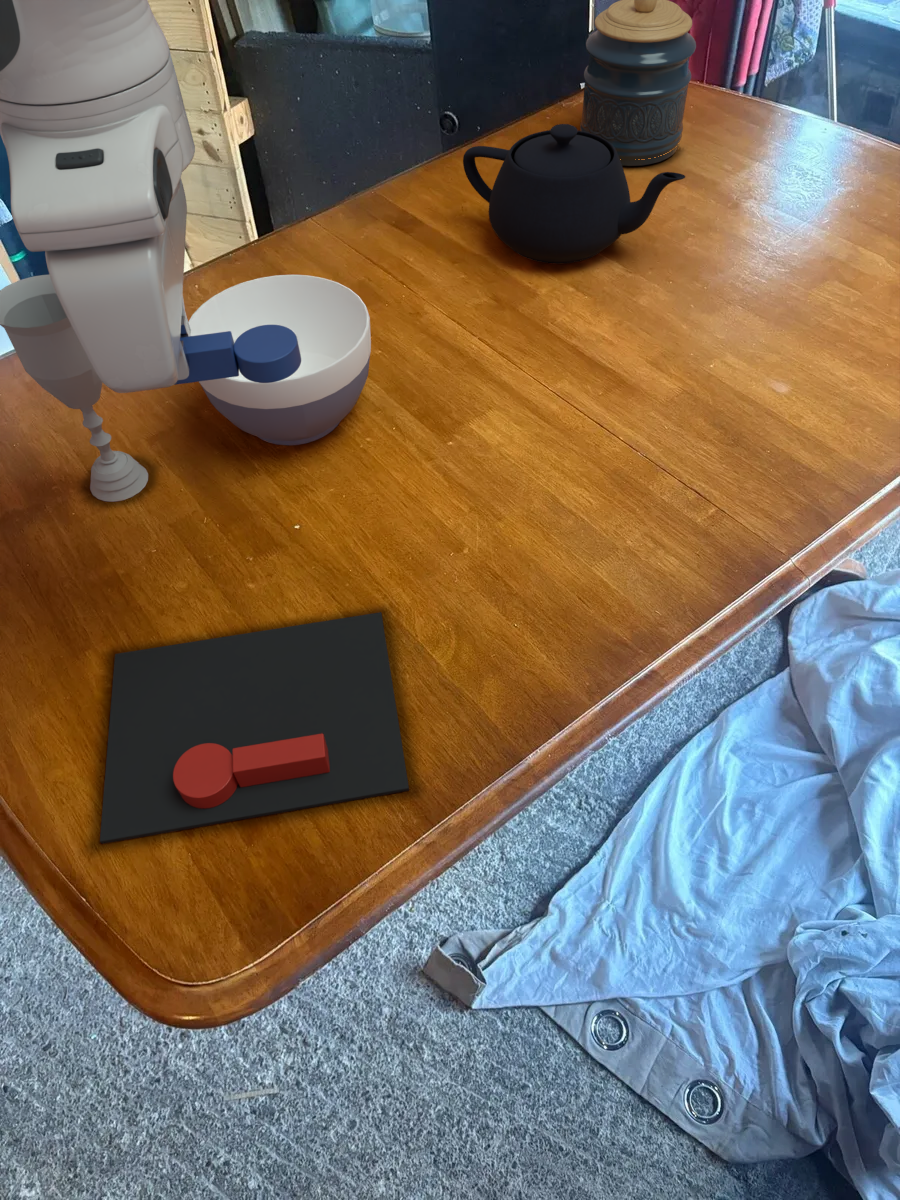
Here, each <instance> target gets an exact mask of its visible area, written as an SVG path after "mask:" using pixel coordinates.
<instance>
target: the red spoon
mask: <svg viewBox="0 0 900 1200" xmlns="http://www.w3.org/2000/svg"><path fill="white" fill-rule="evenodd" d="M232 754H233V756H232ZM232 754H231V753H230V752H229V750H228V749H226V748H225V747H223V746H221V745H218V744H214V743H205V744H200V745H197V746H194V747H192V748H191V749H189V750H188V751H186V752H185V753H184V754H183V755H182V756H181V757H180V758H179V760H178V761H177V763H176V765H175V767H174V771H173V781H174V784H175V786H176V788H177V790H178V791H179V793H180V795H181V796H182V798H183V799H184V801H185V802H186V803H188V804H189V805H191V806H193V807H196V808H212V807H215V806H218V805H220V804H222V803H223V802H225V801H226V800H228V799H229V798H230V797H231V796H232V794H233V793H234V792H235V790H236V788H237V786H238V784H239V786H240V787H246V786H252V785H258V784H264V783H270V782H275V781H281V780H287V779H293V778H299V777H305V776H311V775H317V774H322V773H328V772H330V765H329V755H328V748H327V745H326V741H325V738H324V734H316V735H310V736H304V737H298V738H292V739H286V740H280V741H274V742H268V743H262V744H256V745H250V746H244V747H238V748H233V750H232Z"/></svg>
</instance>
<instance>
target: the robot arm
mask: <svg viewBox="0 0 900 1200" xmlns="http://www.w3.org/2000/svg"><path fill="white" fill-rule="evenodd" d="M170 50H171V49H170V46H169V43H168V41H167V38H166V36H165V33H164V32H163V30H162V28H161V26H160V25H159V23H158V20H157V19H156V16H155V15H154V13H153V11H152V8H151V6H150V3H149V0H0V137H1V140H2V143H3V145H4V148H5V151H6V155H7V159H8V166H9V168H8V169H9V170H8V173H9V188H10V189H9V190H10V192H9V193H10V210H11V216H12V217H11V218H12V220H13V223H14V226H15V228H16V230H17V233H18V235H19V237H20V240H21V241H22V243H23V245H24V247H25V248H26V250H28V251H29V252H32V253H35V252H36V253H37V252H45V253H44V256H45V261H46V266H47V271H48V275H49V274H50V278H51V281H52V283H53V286H54V289H55V291H56V294H57V296H58V298H59V300H60V303H61V305H62V307H63V309H64V311H65V313H66V315H67V317H68V319H69V322H70V324H71V326H72V328H73V330H74V332H75V334H76V336H77V338H78V340H79V342H80V344H81V346H82V348H83V350H84V351H85V353H86V355H87V357H88V359H89V361H90V363H91V365H92V367H93V369H94V370H95V372H96V374H97V375H98V377H99V378H100V380H101V381H102V384H103V385H104V386H106V387H107V388H108V389H109V390H111V391H112V392H115V393H118V394H129V393H137V392H144V391H151V390H152V391H153V390H160V389H165V388H169V387H170V388H171V387H173V386H175V385H174V384H175V383H176V382H177V380H184V379H186V378H187V377H188V376H189V357H188V354H187V351H186V347H185V344H184V341H183V340H182V341H180V338H181V337H189V336H191V329H190V326H189V320H188V316H187V312H186V308H185V307H186V306H185V301H184V294H183V293H184V292H183V291H184V275H185V255H186V253H185V252H186V239H187V238H186V236H187V218H188V216H187V215H188V205H187V204H188V203H187V197H186V192H185V187H184V184H183V181H182V175H183V172H184V171H186V170H187V168H188V167H189V166H190V164H191V163H192V161H193V159H194V157H195V153H196V145H195V141H194V137H193V134H192V130H191V126H190V123H189V119H188V115H187V111H186V108H185V104H184V99H183V96H182V91H181V87H180V84H179V80H178V76H177V72H176V69H175V65H174V62H173V58H172V55H171V51H170Z"/></svg>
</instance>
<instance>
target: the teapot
mask: <svg viewBox="0 0 900 1200" xmlns="http://www.w3.org/2000/svg"><path fill="white" fill-rule="evenodd" d="M476 158H484V159H485V158H486V159H492V160H498V161H503V162H502V164H501V166H500V168H499V171H498V173H497V174H496V175H497V176H496V178H495V181H494V183H493V186H492V188H491V187H490V186H489V185H488V184H487V183H486V182H485V181H484V179H483V178H482V176H481V174H480V172H479V169H478V167H477V165H476ZM462 166H463V170H464V173H465V175H466V178H467V180H468V182H469V183H470V185H471V186H472V188H473V189H474V190H475V192H476V193H477V194H478V195H479V196H480V197H481V198H483V200H485V202H487V203H488V218H489V219H488V220H489V222H490V226H491V228H492V230H493V232H494V234H495V235H496V236H497V237H498V239H499V240H500V241H501V242H502V243H504V244H505V245H506V246H507V247H509V248H510V249H511V250H512V251H513V252H515V253H516V254H518V255H519V256H521V257H523V258H526V259H528V260H531V261H533V262H538V263H543V264H551V265H552V264H554V265H564V264H575V263H578V262H582V261H585V260H588V259H591V258H593V257H594V256H596V255H598V254H600V253H602V251H604V250H606V249H607V248H608V247H610V246H611V245H612V244H614V243H615V242H616V241H617V240H618V239H619V238H620V237H621V236H622V235H626V234H630V233H632V232H634V231H636V230H638V229H639V228H640V227H642V226H643V225H644V224H645V223H646V221H647V220H648V219H649V217H650V215H651V214H652V211H653V210H654V207H655V206H656V202H657V200H658V199H659V196H660V194H661V193H662V192H663V190H664V189H665V188H666V187H667V186H668V185H670V184H672V183H674V182H677V181H681V180H684V179H685V178H686V175H685V174H682V173H678V172H674V171H673V172H672V171H671V172H670V171H664V172H660V173H658V174H656V175H655V176H654V177H653V178H652V179H651V180H650V181H649V183H648V185H647V186H646V189H645V191H644V193H643V195H642V196H641V198H639V199H638V200H636V201H631V195H630V188H629V184H628V181H627V177H626V174H625V171H624V168H623V167H624V166H622V164H621V162H620V159H619V156H618V153H617V151H616V149H615V148H614V146H613V145H612V144H611V143H610V142H608V141H607V140H606V139H604V138H602V137H600V136H597V135H595V134H591V133H588V132H583V131H580V130H578V128H577V127H576V126H574V125H573V124H568V123H559V124H555V125H553V126H552V127H551V128H550V129H549V130H543V131H542V130H541V131H538V132H534V133H531V134H527V135H526V136H523V137H522V138H520V139H519V140H517V141H516V142H515V143H513V145H512V146H511V147H510V148H509V149H507V148H500V147H495V146H486V145H477V146H476V145H475V146H471V147H469V148H468V149H467V150H466V151H465V153H464V154H463V156H462Z"/></svg>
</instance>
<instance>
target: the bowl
mask: <svg viewBox="0 0 900 1200" xmlns="http://www.w3.org/2000/svg"><path fill="white" fill-rule="evenodd" d="M369 313H370V312H369V310H368V308H367V306H366V304H365V302H364V301H363V300H362V298H361V297H360V296H359V295H358V294H357V293H356V292H355V291H353V290H352V289H351V288H349V287H348V286H345V285H343V284H341V283H340V282H338V281H335V280H331V279H328V278H325V277H319V276H316V275H315V276H313V275H309V274H308V275H306V274H277V275H270V276H263V277H258V278H254V279H251V280H247V281H244V282H240V283H237V284H235V285H232V286H230V287H228V288H226V289H224V290H222V291H220V292H219V293H216V294H215V295H212V296H211V297H210V298H209V299H207V300H206V301H204V302H203V303H202V304H201V305H200V306H199V307H198V308H197V309H196V310H195V311H194V312H193V313H192V315H191V317H190V318H189V320H188V322H189V326H190V329H191V336H196V335H204V334H212V333H219V332H227V331H231V333H232V337H233V340H234V343H235V341H236V339H237V338H238V337H239V336H240V335H241V334H242V333H244V332H245V331H247V330H249V329H251V328H254V327H257V326H262V325H280V326H284V327H287V328H289V329H290V330H292V331H293V332H294V333H295V335H296V337H297V341H298V345H299V350H300V355H301V364H300V367H299V368H298V370H297V371H296V372H295V373H294V374H292V375H291V376H289V377H287V378H285V379H283V380H280V381H277V382H272V383H258V382H253V381H250V380H248V379H246V378H245V377H244V376H243V375H242V374H241V373H240V370H239V376H237V377H229V378H222V379H214V380H207V381H199V382H198V383H199V385H200V386H201V388H202V389H203V392H204V393H205V395H206V397H207V399H208V400H209V402H210V403H211V405H212V406H213V407H214V408H215V409H216V411H218V412H219V413H220V414H221V415H222V416H224V417H225V418H226V419H227V420H228V421H229V422H231V424H233V425H234V426H235V427H237V428H238V429H239V430H241V431H243V432H244V433H248V434H249V435H252V436H255V437H257V438H259V439H260V440H262V441H264V442H267V443H269V444H273V445H278V446H279V445H280V446H299V445H304V444H308V443H311V442H315V441H318V440H319V439H322V438H325V437H326V436H327V435H329V434H330V433H332V432H333V431H334V430H335V429H336V428H337V427H338V425H339V424H340V423H341V421H342V420H343V419H345V418H346V417H347V416H348V414H350V413H351V412H352V411H353V408H354V407H355V405H356V404H357V402H358V399H359V398H360V396H361V394H362V391H363V389H364V388H365V385H366V382H367V381H368V377H369V369H370V360H371V352H372V339H371V338H372V335H371V334H372V333H371V316H370V314H369Z"/></svg>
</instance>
